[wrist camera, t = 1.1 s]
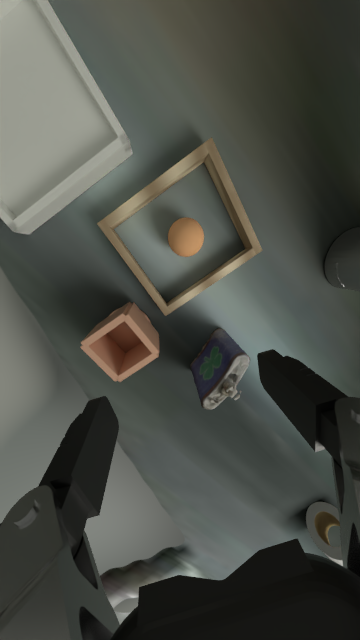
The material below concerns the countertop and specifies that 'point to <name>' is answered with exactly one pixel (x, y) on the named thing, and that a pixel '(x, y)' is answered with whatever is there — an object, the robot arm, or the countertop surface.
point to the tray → (48, 118)
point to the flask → (219, 369)
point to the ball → (185, 237)
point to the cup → (122, 342)
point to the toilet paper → (323, 528)
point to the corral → (161, 184)
